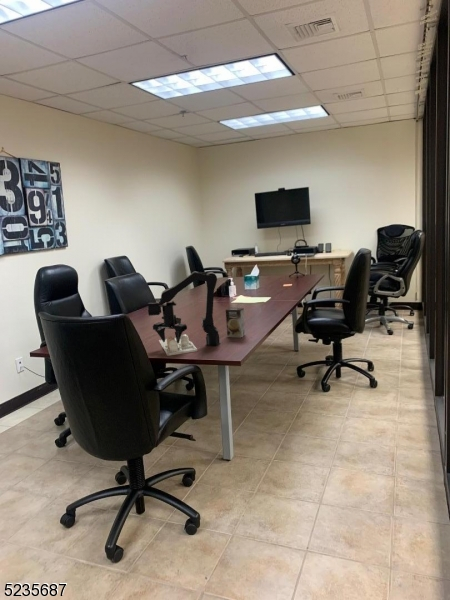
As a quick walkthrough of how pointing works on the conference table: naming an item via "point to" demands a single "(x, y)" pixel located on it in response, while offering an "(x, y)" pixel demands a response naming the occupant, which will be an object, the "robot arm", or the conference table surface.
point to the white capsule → (173, 346)
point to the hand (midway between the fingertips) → (171, 342)
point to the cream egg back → (184, 340)
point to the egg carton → (180, 349)
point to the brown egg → (169, 340)
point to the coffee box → (235, 322)
